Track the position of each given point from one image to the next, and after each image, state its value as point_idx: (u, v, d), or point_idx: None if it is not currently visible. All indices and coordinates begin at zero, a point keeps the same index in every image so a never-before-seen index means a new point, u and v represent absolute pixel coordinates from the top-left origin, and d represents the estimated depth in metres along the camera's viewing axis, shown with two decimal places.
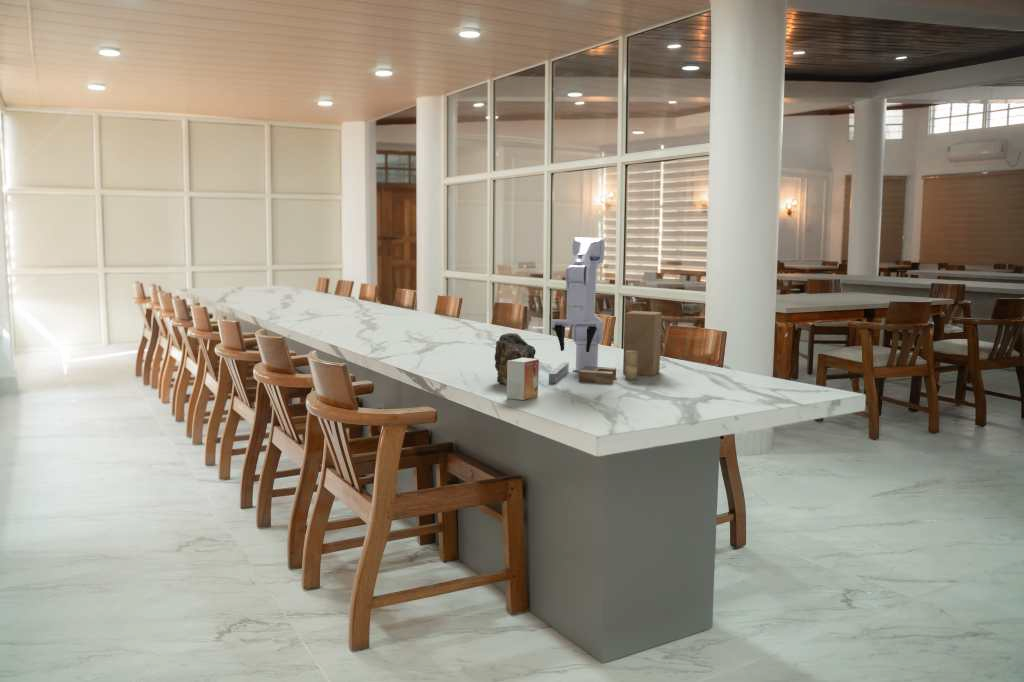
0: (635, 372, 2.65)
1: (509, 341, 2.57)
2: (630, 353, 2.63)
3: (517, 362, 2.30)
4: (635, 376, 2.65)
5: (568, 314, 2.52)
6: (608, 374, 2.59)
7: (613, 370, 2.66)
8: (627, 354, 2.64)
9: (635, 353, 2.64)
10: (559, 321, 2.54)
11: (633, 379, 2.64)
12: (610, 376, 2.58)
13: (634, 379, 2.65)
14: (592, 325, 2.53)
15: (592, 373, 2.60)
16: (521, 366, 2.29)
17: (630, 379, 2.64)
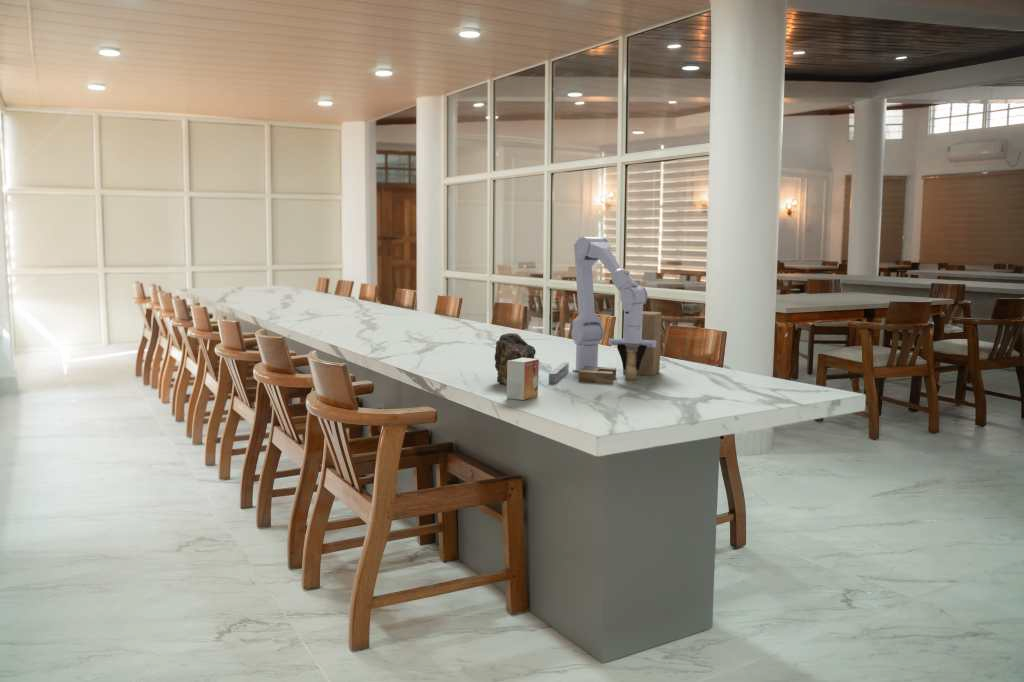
0: (635, 372, 2.65)
1: (509, 341, 2.57)
2: (630, 353, 2.63)
3: (517, 362, 2.30)
4: (635, 376, 2.65)
5: (625, 334, 2.63)
6: (608, 374, 2.59)
7: (613, 370, 2.66)
8: (627, 354, 2.64)
9: (635, 353, 2.64)
10: (616, 340, 2.64)
11: (633, 379, 2.64)
12: (610, 376, 2.58)
13: (634, 379, 2.65)
14: (648, 344, 2.63)
15: (592, 373, 2.60)
16: (521, 366, 2.29)
17: (630, 379, 2.64)
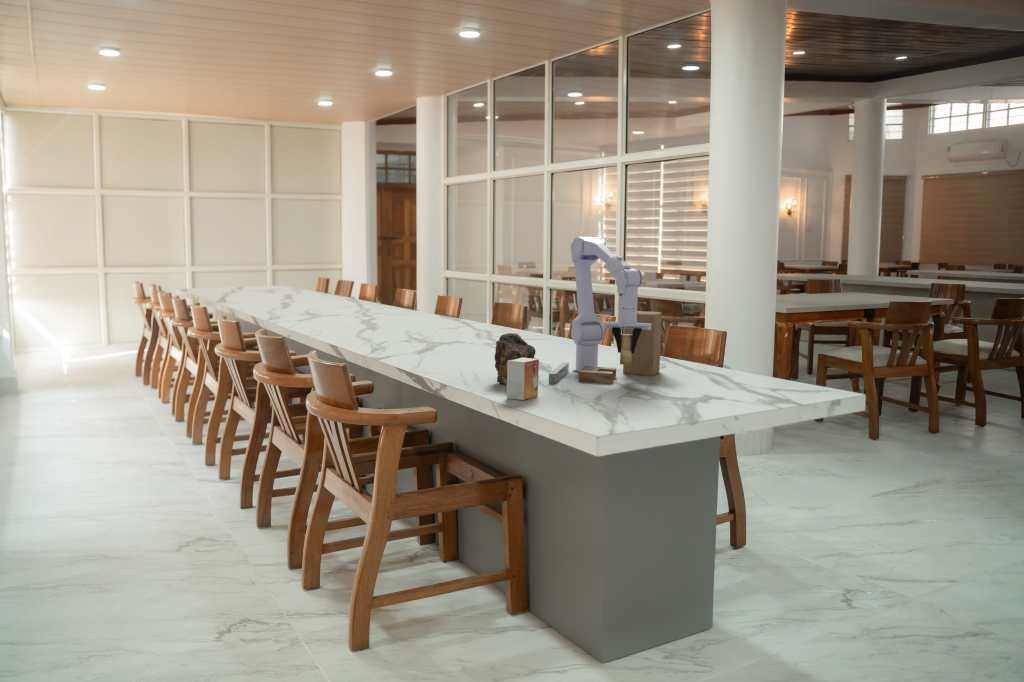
0: (630, 356, 2.61)
1: (509, 341, 2.57)
2: (625, 336, 2.60)
3: (517, 362, 2.30)
4: (630, 360, 2.61)
5: (620, 317, 2.60)
6: (608, 374, 2.59)
7: (613, 370, 2.66)
8: (622, 337, 2.61)
9: (630, 336, 2.60)
10: (611, 323, 2.61)
11: (628, 363, 2.61)
12: (610, 376, 2.58)
13: (629, 362, 2.61)
14: (643, 327, 2.60)
15: (592, 373, 2.60)
16: (521, 366, 2.29)
17: (625, 363, 2.61)
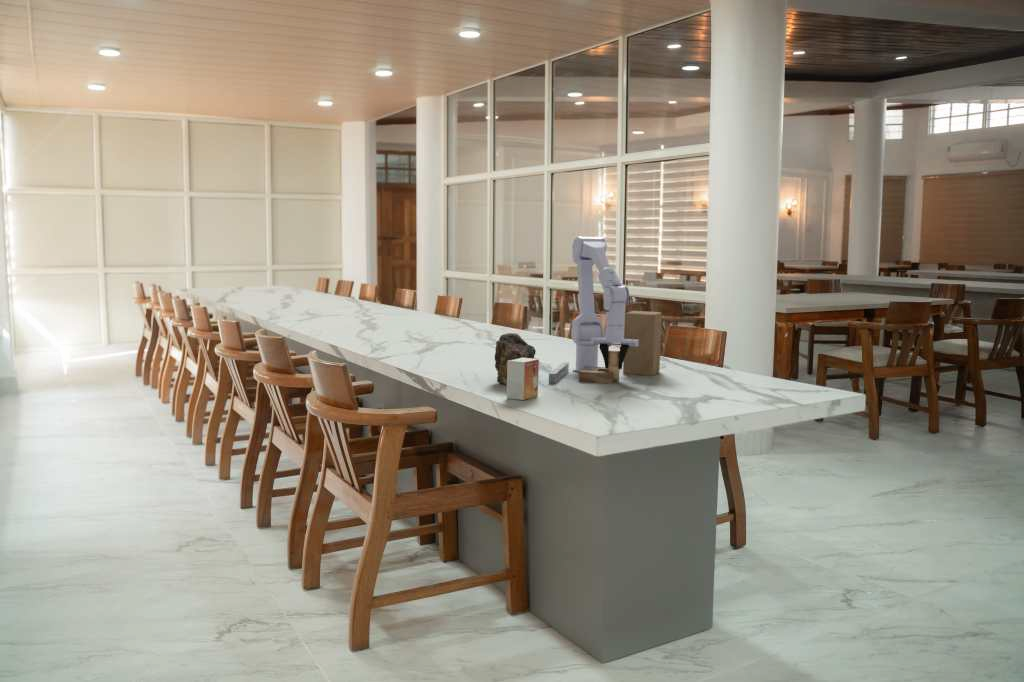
0: (617, 372, 2.63)
1: (509, 341, 2.57)
2: (612, 353, 2.62)
3: (517, 362, 2.30)
4: (617, 376, 2.63)
5: (607, 333, 2.61)
6: (608, 374, 2.59)
7: None
8: (609, 354, 2.62)
9: (617, 353, 2.62)
10: (598, 340, 2.62)
11: (615, 379, 2.63)
12: (610, 376, 2.58)
13: (616, 379, 2.63)
14: (630, 343, 2.62)
15: (592, 373, 2.60)
16: (521, 366, 2.29)
17: None
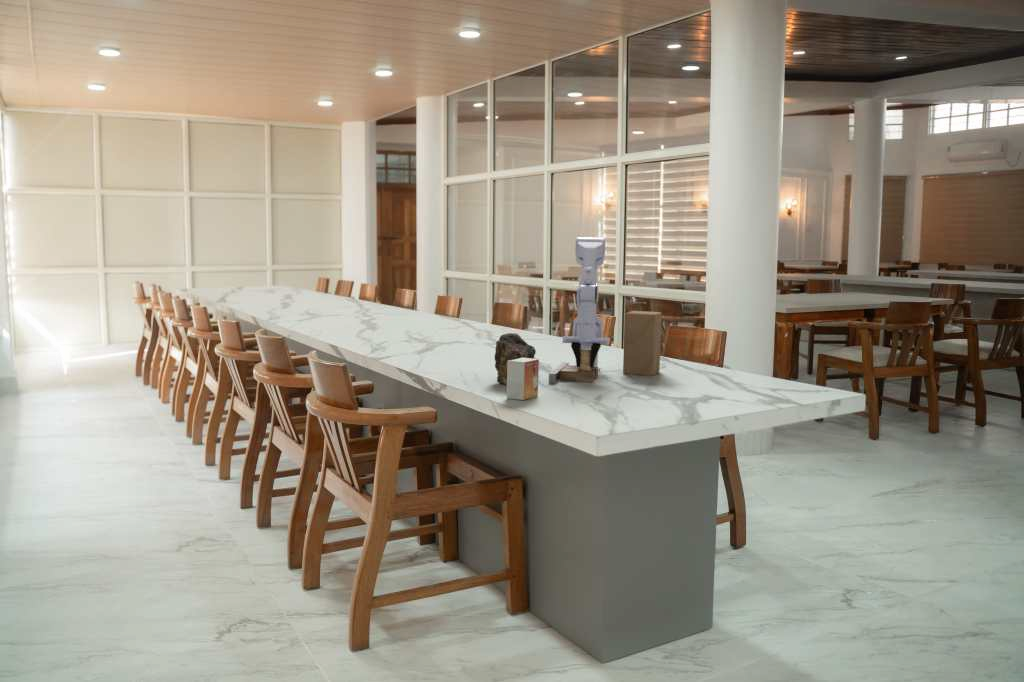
0: (589, 370, 2.65)
1: (509, 341, 2.57)
2: (584, 351, 2.64)
3: (517, 362, 2.30)
4: None
5: (579, 332, 2.63)
6: (589, 373, 2.60)
7: (595, 369, 2.68)
8: (581, 352, 2.64)
9: (589, 351, 2.64)
10: (570, 338, 2.64)
11: None
12: (591, 375, 2.60)
13: None
14: (602, 342, 2.64)
15: (573, 372, 2.61)
16: (520, 366, 2.29)
17: None
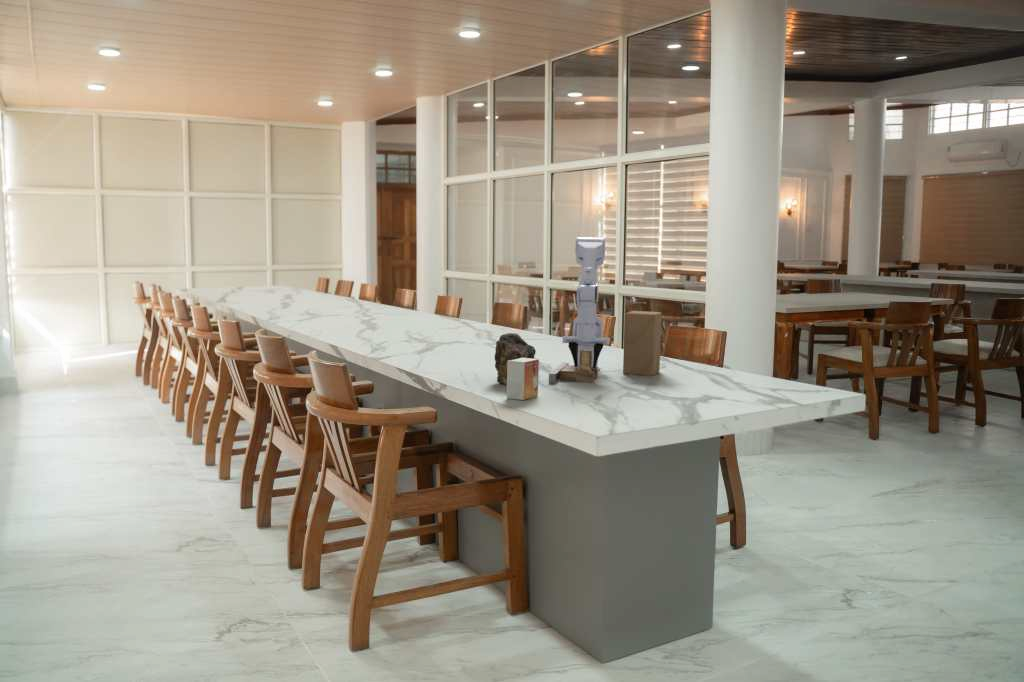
0: None
1: (509, 341, 2.57)
2: (584, 352, 2.64)
3: (517, 362, 2.30)
4: None
5: (579, 332, 2.63)
6: (589, 373, 2.60)
7: (595, 369, 2.68)
8: (581, 353, 2.64)
9: (589, 352, 2.64)
10: (570, 338, 2.64)
11: None
12: (591, 375, 2.60)
13: None
14: (602, 342, 2.64)
15: (573, 372, 2.61)
16: (521, 366, 2.29)
17: None
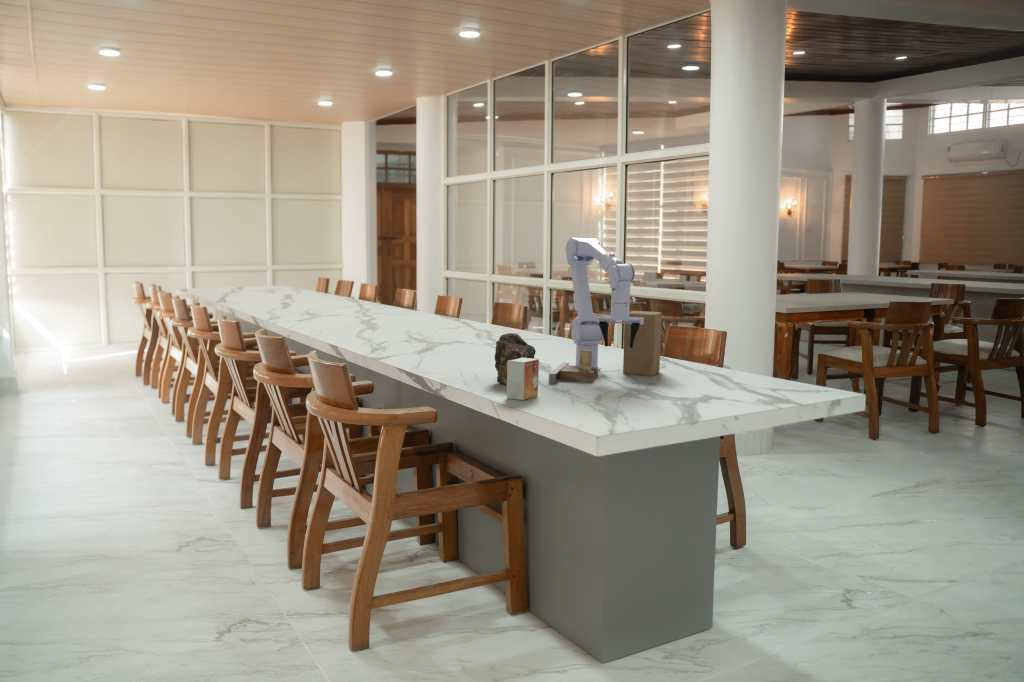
0: None
1: (509, 341, 2.57)
2: (584, 352, 2.64)
3: (517, 362, 2.30)
4: None
5: (612, 311, 2.62)
6: (589, 373, 2.60)
7: (595, 369, 2.68)
8: (581, 353, 2.64)
9: (589, 352, 2.64)
10: (604, 318, 2.63)
11: None
12: (591, 375, 2.60)
13: None
14: (636, 321, 2.62)
15: (573, 372, 2.61)
16: (520, 366, 2.29)
17: None
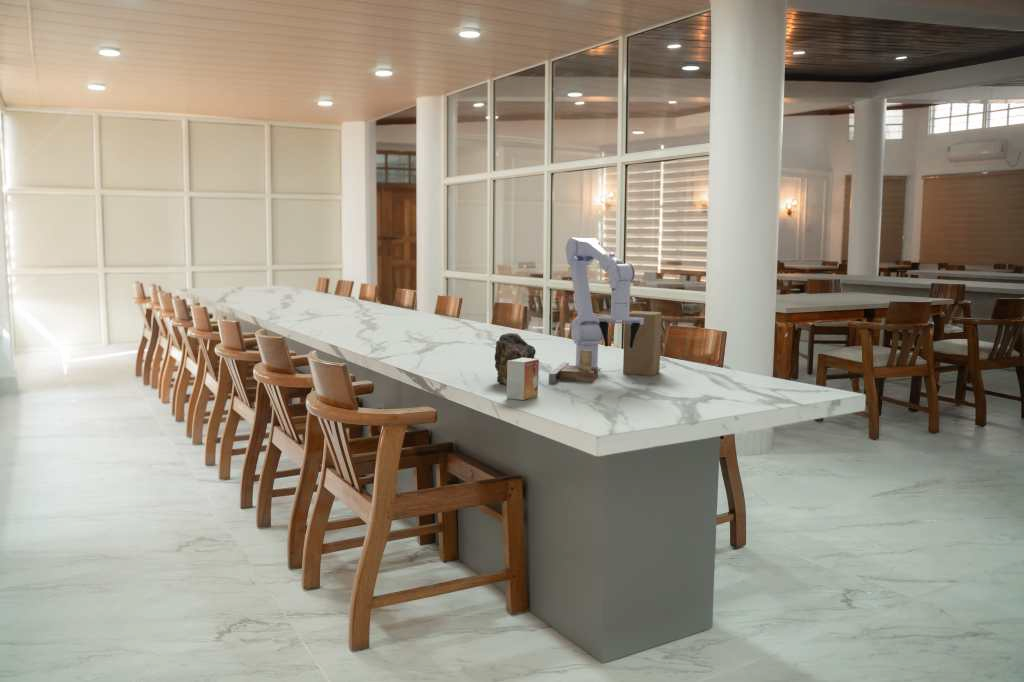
0: None
1: (509, 341, 2.57)
2: (584, 352, 2.64)
3: (517, 362, 2.30)
4: None
5: (612, 311, 2.62)
6: (589, 373, 2.60)
7: (595, 369, 2.68)
8: (581, 353, 2.64)
9: (589, 352, 2.64)
10: (604, 318, 2.63)
11: None
12: (591, 375, 2.60)
13: None
14: (636, 321, 2.62)
15: (573, 372, 2.61)
16: (521, 366, 2.29)
17: None
